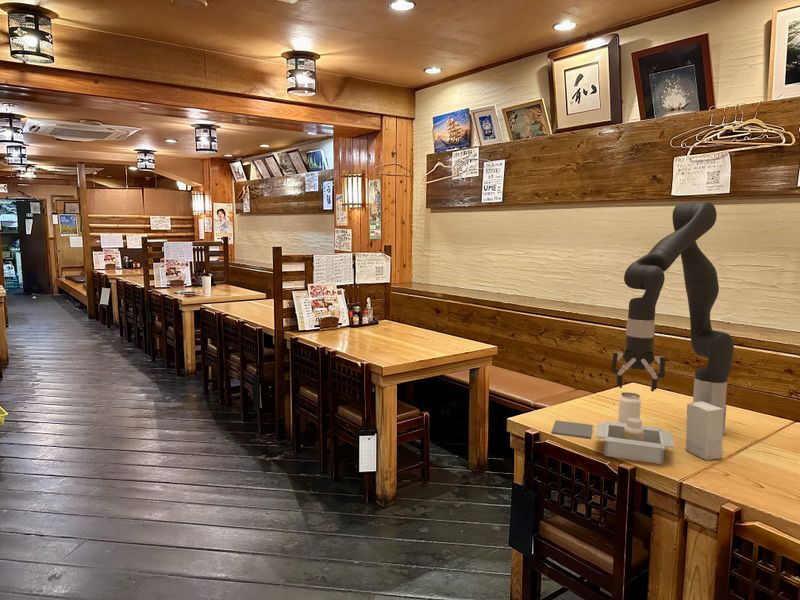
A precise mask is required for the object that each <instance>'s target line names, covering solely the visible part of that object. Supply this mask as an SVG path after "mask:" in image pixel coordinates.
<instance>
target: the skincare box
mask: <svg viewBox="0 0 800 600" xmlns="http://www.w3.org/2000/svg"><path fill="white" fill-rule="evenodd" d="M686 405H687V406H686V430H685V431H686V435H685V436H686V438H685V451H687V452H688V453H691V454H693V455H695V456H697V457H699V458H701V459H703V460H705V461H710V460H722V458H723V440H724V439H723V436H724V435H723V408H720V407H717V406H714V405H711V404H708V403H705V402H694V403H693V402H687V404H686Z"/></svg>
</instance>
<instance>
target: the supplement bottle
mask: <svg viewBox="0 0 800 600" xmlns="http://www.w3.org/2000/svg"><path fill="white" fill-rule="evenodd" d="M642 423H643V421H642V419H641V418H640V419H637V418H628V419H627V425H626V426H625V427H624V439H628V440H635V441H643V439H644V429H643V428H642V427H641V425H642ZM642 426H643V425H642Z"/></svg>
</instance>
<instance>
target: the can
mask: <svg viewBox="0 0 800 600" xmlns="http://www.w3.org/2000/svg"><path fill="white" fill-rule="evenodd" d="M640 396H641V395H640V394H638V393H635V392H622V393H621V394H620V397H619V402H618V403H619V404H618V416H617V417H618V418H617V419H618V420H617V422H618V423H626V424H627V419H628V418H637V419H640V420H641V407H642V406H641V405H642V400H641V397H640Z"/></svg>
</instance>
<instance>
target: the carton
mask: <svg viewBox="0 0 800 600" xmlns="http://www.w3.org/2000/svg"><path fill="white" fill-rule="evenodd" d="M626 425H627V424H626V423H618V421H617V422H616V421H608V420H606V422H605V423H604V422H597V424H596V426H597V427H596V431H595V438H597V439H604V447H603V448H604V449H603V457H604V456H605V457H611V458H618V459H625V460H631V461H638V462H644V461H646V462H647V463H651V462H652V463H653V464H658V465H659V464H660V465H664V458H665V451H666V448H670V449H675V443H674V439H673V436H672V432H671V431H667V430H666V431H665V430H662V427H657V426H649V425H641V427H642V428H643V429H644V439H643V441H635V440H628V439H624V427H625V426H626Z"/></svg>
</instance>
